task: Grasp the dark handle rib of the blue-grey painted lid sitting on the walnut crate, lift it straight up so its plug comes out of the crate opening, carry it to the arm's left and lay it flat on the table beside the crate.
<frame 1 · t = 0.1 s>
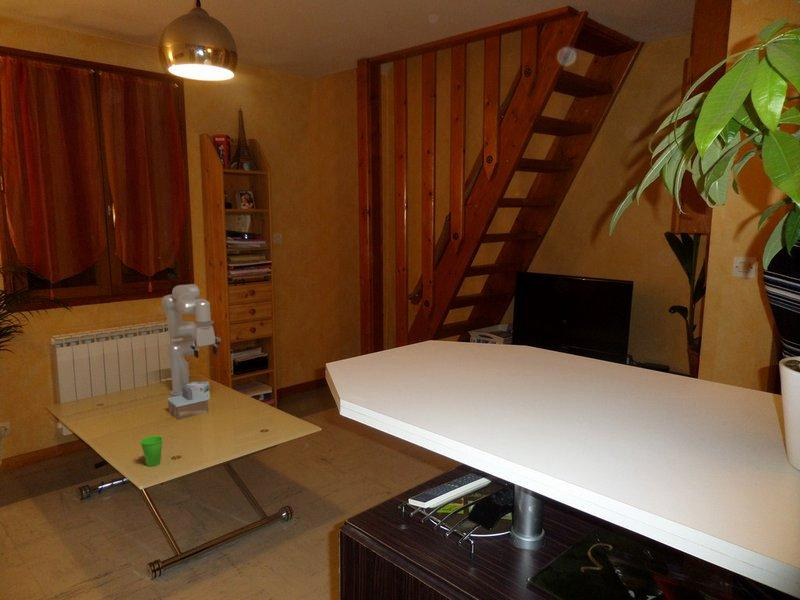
hand: (205, 355, 292), 31 cm above the table, fingers open, 9 cm apart
light bulb box: (198, 401, 315), on the table
ball load: (180, 412, 294), point 1 cm above the table, touching crate
lid: (187, 399, 293), point 8 cm above the table, touching crate
crate: (189, 414, 294), on the table
cup: (153, 464, 234), on the table
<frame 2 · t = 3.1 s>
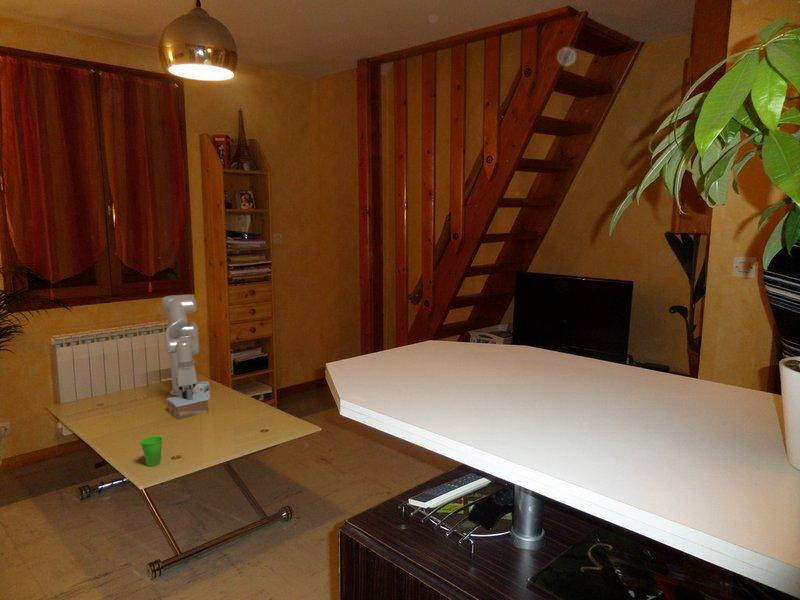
hand: (187, 397, 292), 9 cm above the table, fingers closed on lid, 2 cm apart
lid: (187, 399, 293), point 8 cm above the table, touching crate, gripper
everything else where it was.
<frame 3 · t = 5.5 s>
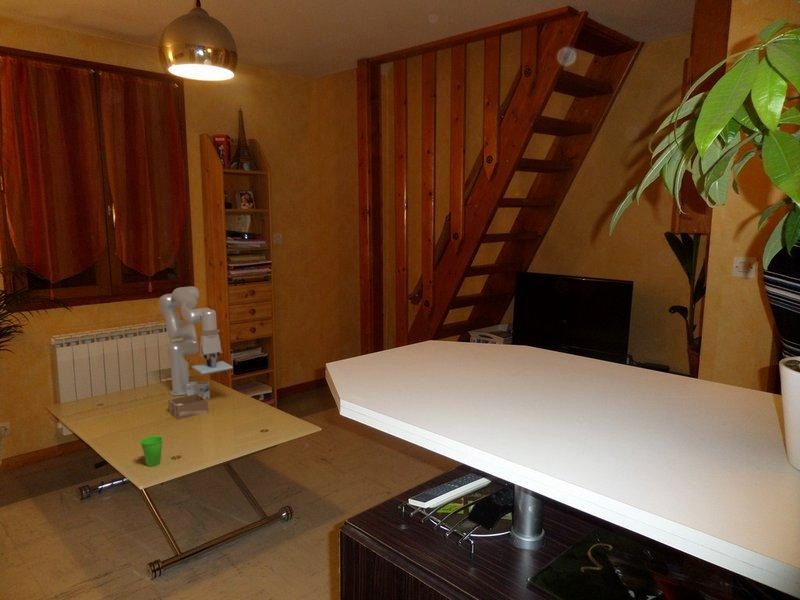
hand: (211, 365, 300), 24 cm above the table, fingers closed on lid, 2 cm apart
lid: (212, 368, 300), point 23 cm above the table, touching gripper
everything else where it was.
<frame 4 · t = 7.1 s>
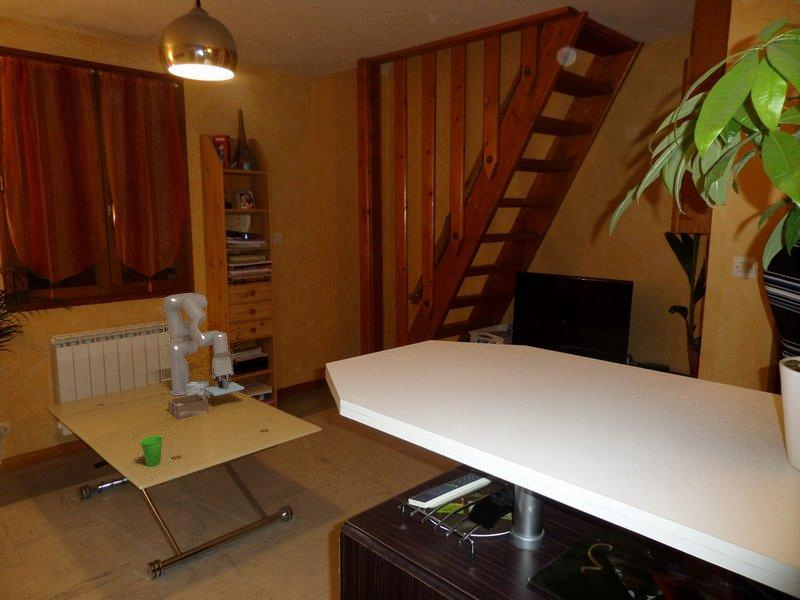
hand: (223, 386, 305), 11 cm above the table, fingers closed on lid, 2 cm apart
lid: (223, 389, 306), point 9 cm above the table, touching gripper
everything else where it was.
when the fingers open (4 cm above the table, at t = 8.3 s): lid drops 2 cm, point 1 cm above the table.
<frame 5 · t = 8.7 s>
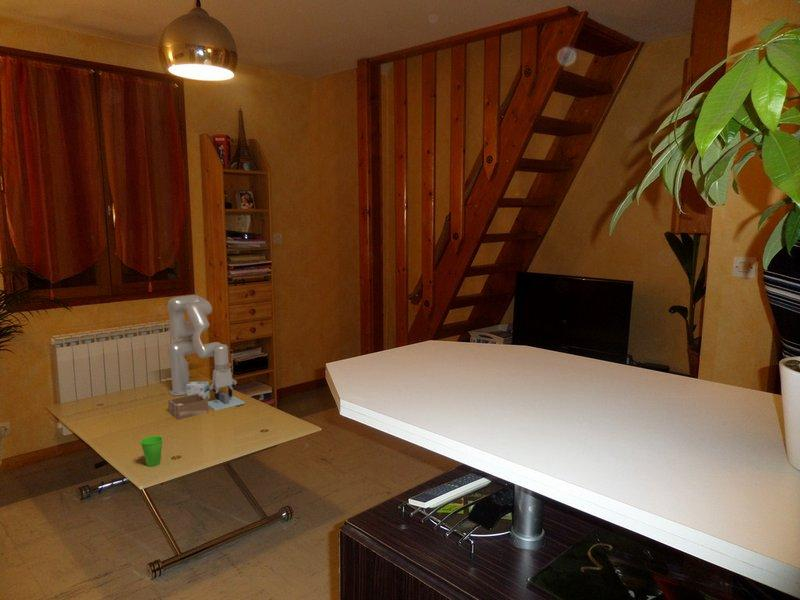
hand: (223, 397, 307), 4 cm above the table, fingers open, 6 cm apart
lid: (224, 403, 307), point 1 cm above the table
everything else where it was.
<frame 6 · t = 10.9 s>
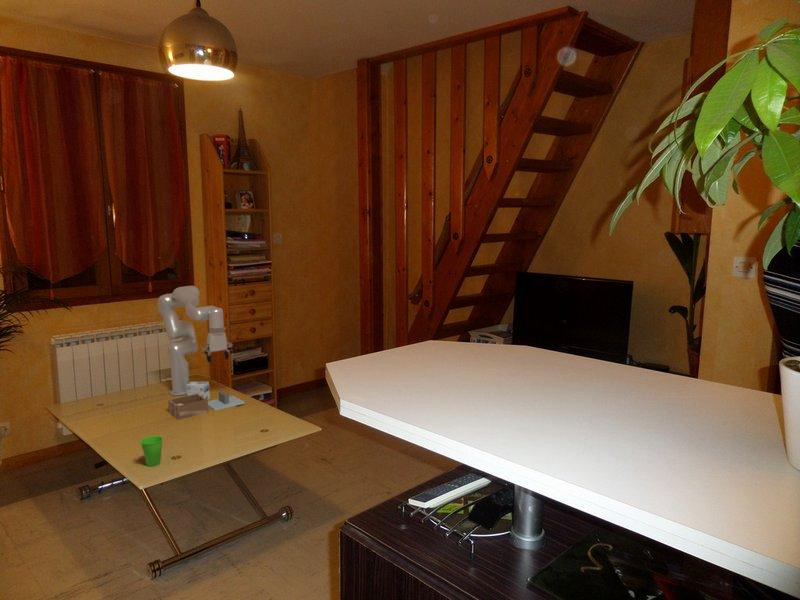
hand: (218, 360, 305), 25 cm above the table, fingers open, 9 cm apart
nothing on the table moved.
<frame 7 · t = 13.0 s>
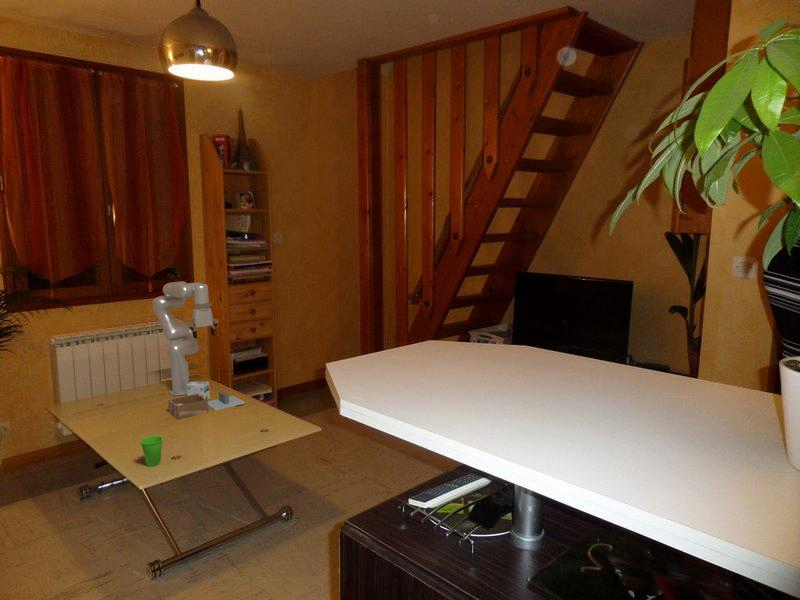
hand: (204, 336, 306), 38 cm above the table, fingers open, 9 cm apart
nothing on the table moved.
at the end: lid inside the target area (0.0 cm from its centre), point 0.8 cm above the table; lid tilted 0°; the gripper is holding nothing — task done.
